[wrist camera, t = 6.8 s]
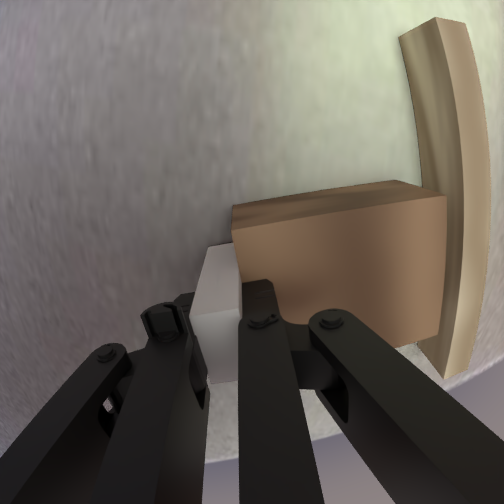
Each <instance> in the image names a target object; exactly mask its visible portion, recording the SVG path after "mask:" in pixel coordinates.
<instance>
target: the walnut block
mask: <svg viewBox="0 0 504 504" xmlns="http://www.w3.org/2000/svg"><path fill="white" fill-rule="evenodd" d="M231 234H232V239H233V244H234V249H235V254H236V258H237V263H238V268H239V273H240V278H241V283H244V282H250V281H256V280H261V279H268V280H269V281H271V282H272V283H273V286H274V290H275V294H276V298H277V302H278V307H279V311H280V315H281V316H282V318H283V319H284V320H285V321H287V322H290V323H294V324H308V322H309V319H310V318H311V317H312V316H313V315H314V314H315V313H317V312H320V311H322V310H326V309H331V308H332V309H333V308H337V309H343V310H347V311H348V312H350V313H352V314H353V315H354V316H356V317H357V318H358V319H359V320H361V321H362V322H363V323H364V324H365V325H367V326H368V327H369V328H370V329H372V330H373V331H374V332H375V333H376V334H378V335H379V336H380V337H381V338H382V339H384V340H385V341H386V342H387V343H388V344H390V345H391V346H392V347H393V348H397V347H401V346H404V345H407V344H411V343H414V342H417V341H420V340H423V339H426V338H429V337H432V336H435V335H438V330H439V323H440V316H441V308H442V299H443V289H444V277H445V262H446V239H447V199H446V195H444V194H441V193H438V192H435V191H432V190H428V189H425V188H422V187H419V186H415V185H412V184H408V183H405V182H401V181H398V180H391V181H383V182H376V183H368V184H361V185H354V186H347V187H340V188H333V189H326V190H320V191H314V192H307V193H301V194H295V195H289V196H283V197H277V198H271V199H265V200H260V201H254V202H248V203H243V204H238V205H233V212H232V223H231Z"/></svg>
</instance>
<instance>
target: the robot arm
mask: <svg viewBox="0 0 504 504" xmlns="http://www.w3.org/2000/svg"><path fill="white" fill-rule="evenodd" d="M140 316H141V319H142V321H143V324H144V327H145V329H146V332H147V335H148V337H149V339H148V341H147V344H146V346H145V348H143V349H141V350H137V351H134V352H131V353H127V351H126V349H125V347H124V346H123V345H122V344H118V343H109V344H107V345H106V344H105V345H102V346H101V347H100V348H98V349H96V350H95V351H94V352H92V353H91V354H90V355H89V357H88V358H87V359H86V360H85V361H84V362H83V363H82V364H81V365H80V366H79V367H78V369H77V370H76V371H75V372H74V373H73V374H72V375H71V376H70V377H69V379H68V380H67V381H66V382H65V383H64V384H63V385H62V386H61V387H60V389H59V390H58V391H57V392H56V393H55V394H54V395H53V396H52V398H51V399H50V400H49V401H48V402H47V403H46V404H45V406H44V407H43V408H42V409H41V410H40V411H39V413H38V414H37V415H36V416H35V417H34V418H33V419H32V421H31V422H30V423H29V424H28V425H27V427H26V428H25V429H24V430H23V431H22V432H21V434H20V435H19V436H18V437H17V438H16V440H15V441H14V442H13V443H12V444H11V446H10V447H9V448H8V449H7V451H6V452H5V453H4V454H3V455H2V457H1V458H0V504H202V492H203V476H204V463H205V450H206V437H207V425H208V413H209V401H210V391H209V388H208V385H207V382H206V380H207V373H208V376H209V379H210V382H211V384H215V383H223V382H230V381H238V435H239V501H240V502H239V503H240V504H325V503H324V498H323V494H322V489H321V485H320V480H319V475H318V471H317V466H316V462H315V457H314V453H313V448H312V444H311V439H310V435H309V430H308V426H307V421H306V417H305V412H304V408H303V404H302V399H301V395H300V391H299V389H311V390H315V392H316V395H317V396H318V398H319V399H320V401H321V402H322V403H323V405H324V406H325V408H326V409H327V411H328V412H329V413H330V415H331V416H332V418H333V419H334V420H335V422H336V423H337V425H338V426H339V427H340V429H341V430H342V432H343V433H344V434H345V436H346V437H347V438H348V440H349V441H350V443H351V444H352V445H353V447H354V448H355V450H356V451H357V452H358V454H359V455H360V456H361V458H362V459H363V461H364V462H365V463H366V465H367V466H368V467H369V469H370V470H371V471H372V473H373V474H374V476H375V477H376V478H377V480H378V481H379V482H380V484H381V485H382V486H383V488H384V489H385V490H386V491H387V493H388V494H389V496H390V497H391V498H392V500H393V501H394V502H395V503H396V504H504V441H503V440H502V439H500V438H499V437H498V436H497V435H496V434H495V433H494V432H492V431H491V430H490V429H489V428H488V427H487V426H485V425H484V424H483V423H482V422H481V421H480V420H478V419H477V418H476V417H475V416H474V415H473V414H471V413H470V412H469V411H468V410H467V409H466V408H464V407H463V406H462V405H461V404H460V403H459V402H457V401H456V400H455V399H454V398H453V397H452V396H450V395H449V394H448V393H447V392H446V391H445V390H443V389H442V388H441V387H440V386H439V385H437V384H436V383H435V382H434V381H433V380H431V379H430V378H429V377H428V376H427V375H426V374H424V373H423V372H422V371H421V370H420V369H418V368H417V367H416V366H415V365H414V364H412V363H411V362H410V361H409V360H408V359H406V358H405V357H404V356H403V355H402V354H400V353H399V352H398V351H397V350H396V349H394V348H393V347H392V346H391V345H390V344H388V343H387V342H386V341H385V340H384V339H382V338H381V337H380V336H379V335H378V334H376V333H375V332H374V331H373V330H372V329H370V328H369V327H368V326H367V325H365V324H364V323H363V322H362V321H361V320H359V319H358V318H357V317H356V316H354V315H353V314H352V313H350V312H348V311H347V310H343V309H337V308H333V309H332V308H331V309H326V310H322V311H320V312H317V313H315V314H314V315H313V316H312V317H311V318H310V319H309V322H308V324H294V323H290V322H287V321H285V320H284V319H283V318H282V316H281V315H280V311H279V307H278V302H277V298H276V294H275V290H274V286H273V283H272V282H271V281H269V280H268V279H261V280H256V281H250V282H244V283H241V278H240V273H239V268H238V263H237V258H236V254H235V249H234V244H233V243H228V244H222V245H217V246H211V247H208V250H207V253H206V257H205V260H204V264H203V267H202V271H201V274H200V278H199V281H198V285H197V288H196V292H192V293H186V294H181V295H180V296H179V297H177V298H176V299H175V300H174V302H164V303H160V304H157V305H154V306H152V307H150V308H148V309H147V310H145V311H144V312H143V313H142V314H141V315H140ZM107 398H108V400H109V401H110V403H111V405H112V406H113V407H112V409H111V410H110V411H109V412H107V411H106V409H105V408H104V406H103V403H104V401H105V400H106V399H107Z"/></svg>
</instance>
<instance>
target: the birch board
mask: <svg viewBox="0 0 504 504" xmlns="http://www.w3.org/2000/svg"><path fill="white" fill-rule="evenodd" d="M399 41H400V45H401V49H402V53H403V57H404V61H405V66H406V70H407V75H408V80H409V85H410V90H411V96H412V101H413V107H414V113H415V120H416V127H417V134H418V143H419V151H420V161H421V173H422V187H423V188H425V189H428V190H432V191H435V192H438V193H441V194H444V195H446V199H447V239H446V262H445V277H444V289H443V299H442V308H441V316H440V323H439V330H438V335H435V336H432V337H429V338H426V339H423V340H420V341H418V345H417V346H418V347H419V348H420V349H421V351H422V352H423V353H424V355H425V356H426V357H427V358H428V360H429V361H430V362H431V364H432V365H433V366H434V368H435V369H436V370H437V372H438V373H439V374H440V376H441V377H442V378H443V380H444V379H446V378H449V377H451V376H454V375H456V374H458V373H461V372H463V371H465V370H467V369H468V366H469V362H470V358H471V354H472V350H473V346H474V342H475V337H476V333H477V328H478V323H479V318H480V313H481V307H482V301H483V295H484V288H485V281H486V273H487V264H488V253H489V240H490V221H491V174H490V155H489V142H488V132H487V123H486V116H485V108H484V102H483V96H482V90H481V85H480V79H479V75H478V70H477V65H476V61H475V57H474V53H473V49H472V45H471V41H470V38H469V34H468V31H467V27H466V24H465V23H462V22H458V21H453V20H448V19H443V18H438V17H434V18H432V19H431V20H429V21H427V22H425V23H423V24H421V25H419V26H418V27H416V28H414V29H412V30H410V31H409V32H407V33H405V34H403V35H402V36H400V37H399Z"/></svg>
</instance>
